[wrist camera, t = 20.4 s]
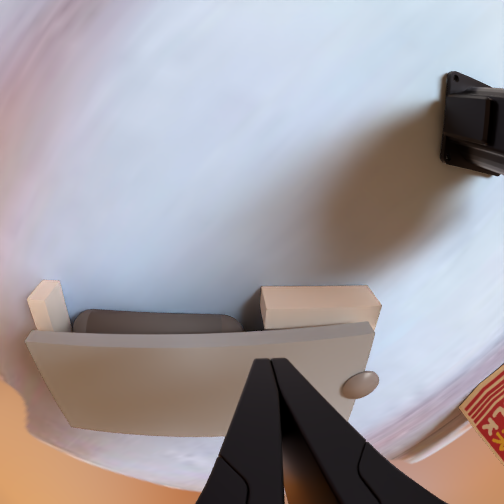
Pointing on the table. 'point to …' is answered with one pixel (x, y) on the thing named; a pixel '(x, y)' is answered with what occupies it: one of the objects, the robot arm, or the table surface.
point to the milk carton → (488, 411)
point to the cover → (191, 374)
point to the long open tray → (271, 304)
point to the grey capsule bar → (153, 323)
